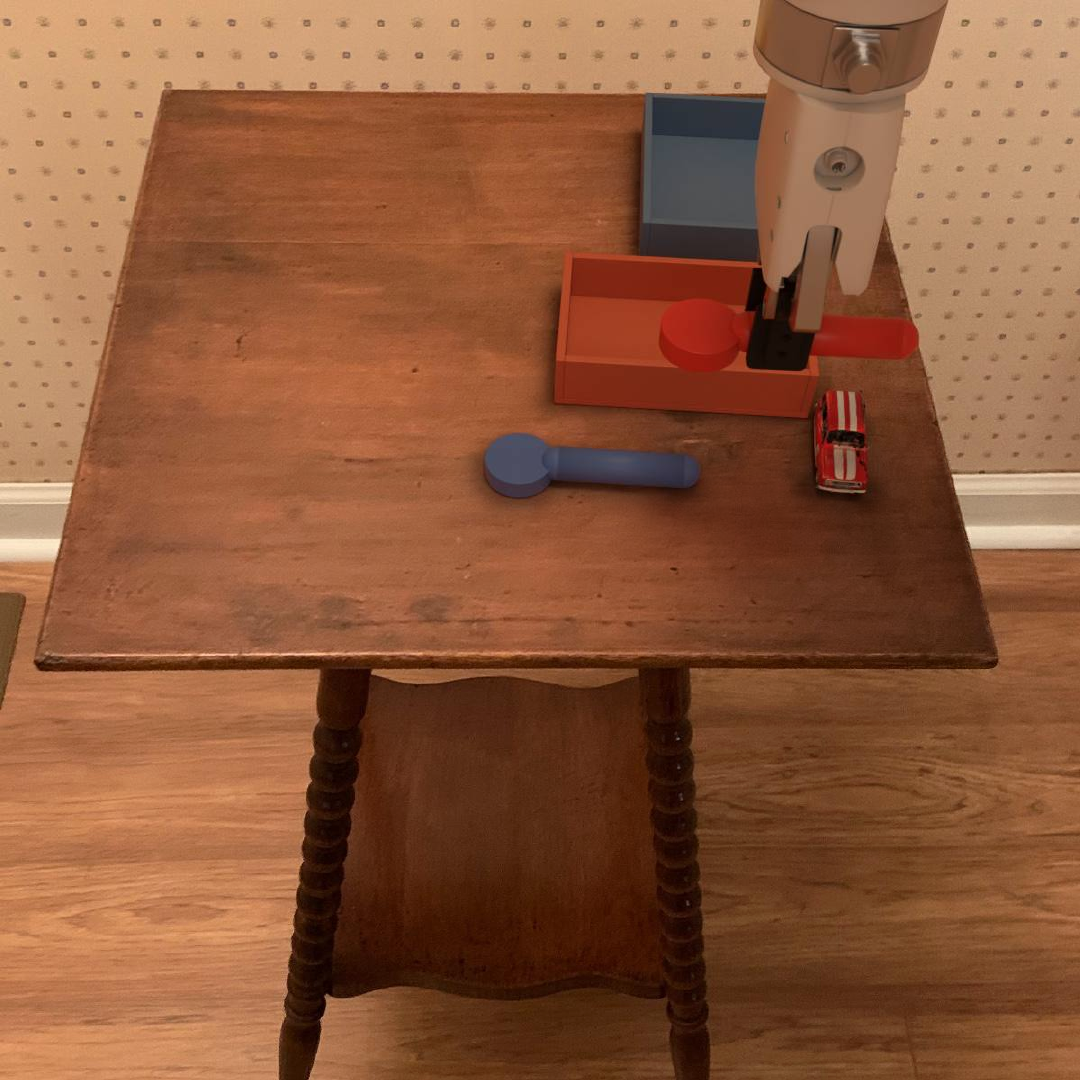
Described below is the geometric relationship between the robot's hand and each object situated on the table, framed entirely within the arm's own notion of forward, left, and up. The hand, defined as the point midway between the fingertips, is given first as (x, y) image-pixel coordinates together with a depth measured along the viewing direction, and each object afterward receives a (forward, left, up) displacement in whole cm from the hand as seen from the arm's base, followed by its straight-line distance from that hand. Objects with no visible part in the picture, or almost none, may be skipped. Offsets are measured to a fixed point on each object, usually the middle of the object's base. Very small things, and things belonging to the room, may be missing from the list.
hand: (773, 345), depth 65 cm
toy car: (-7, -5, -14) cm, 17 cm away
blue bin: (0, -32, -14) cm, 35 cm away
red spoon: (-1, 0, 0) cm, 1 cm away
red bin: (+3, -14, -14) cm, 20 cm away
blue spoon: (+9, -2, -14) cm, 17 cm away
